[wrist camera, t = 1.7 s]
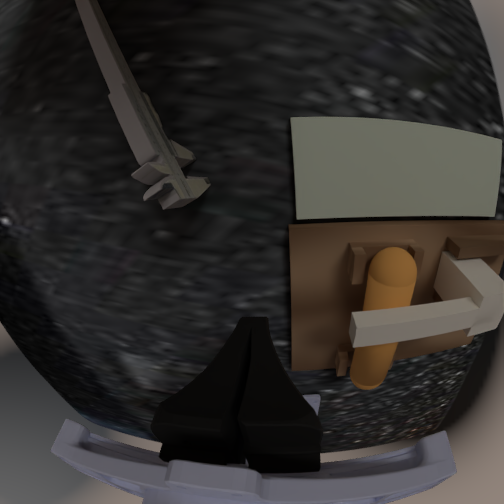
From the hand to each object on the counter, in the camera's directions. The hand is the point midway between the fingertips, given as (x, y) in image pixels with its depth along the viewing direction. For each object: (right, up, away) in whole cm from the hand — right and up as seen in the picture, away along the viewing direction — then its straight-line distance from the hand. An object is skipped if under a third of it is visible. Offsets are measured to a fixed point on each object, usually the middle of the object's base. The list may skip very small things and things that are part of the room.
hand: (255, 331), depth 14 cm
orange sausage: (+8, 0, +4) cm, 9 cm away
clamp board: (+12, 0, +5) cm, 13 cm away
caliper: (-8, +16, -1) cm, 18 cm away
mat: (+10, +9, +1) cm, 14 cm away
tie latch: (+11, +3, +3) cm, 12 cm away
